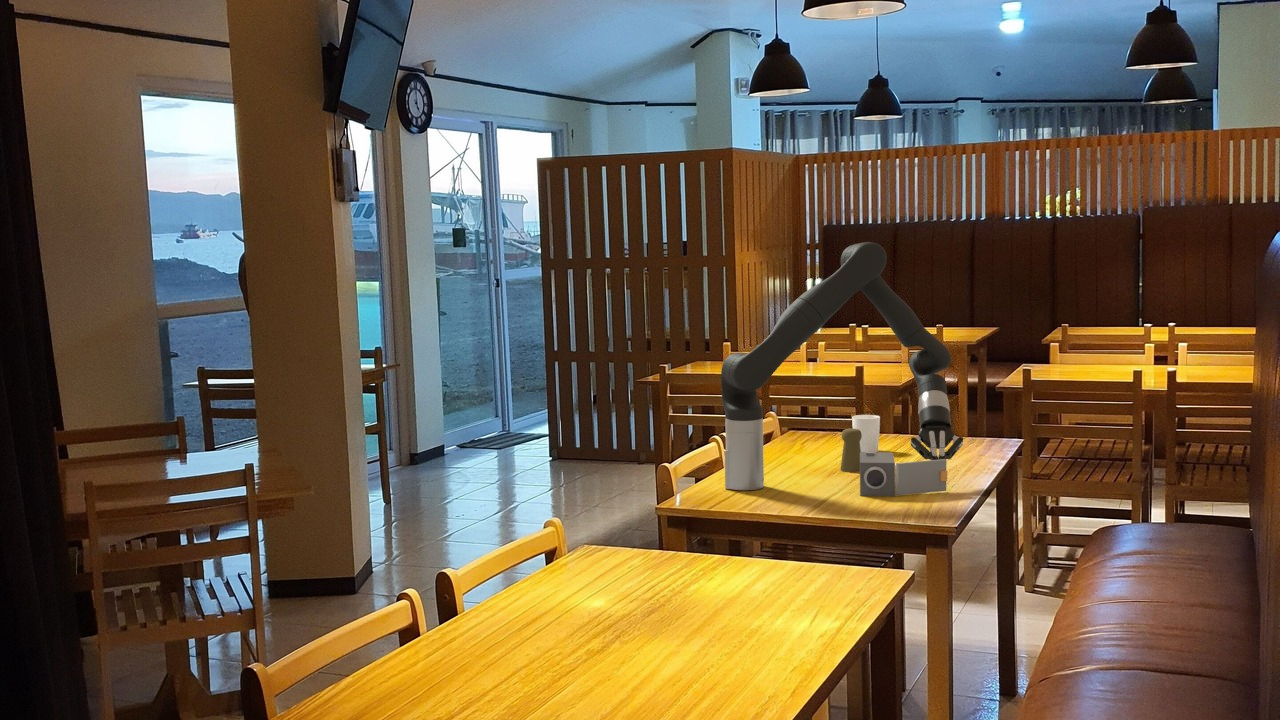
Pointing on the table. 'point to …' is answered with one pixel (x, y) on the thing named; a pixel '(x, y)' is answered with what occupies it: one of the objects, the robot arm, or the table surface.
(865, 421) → the white cup
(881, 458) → the block
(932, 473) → the door
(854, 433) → the cork
